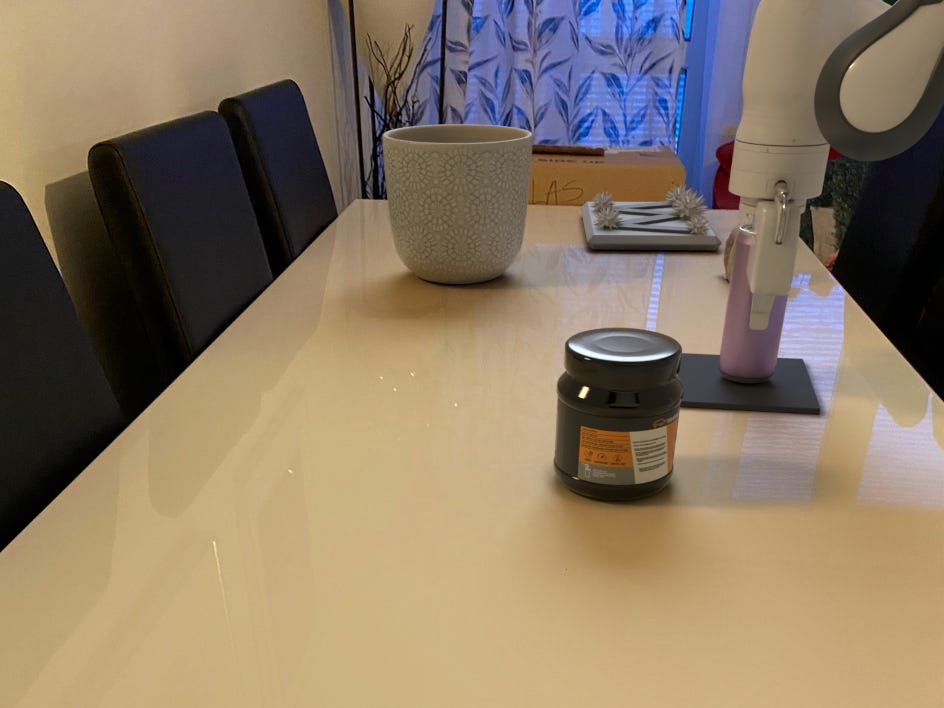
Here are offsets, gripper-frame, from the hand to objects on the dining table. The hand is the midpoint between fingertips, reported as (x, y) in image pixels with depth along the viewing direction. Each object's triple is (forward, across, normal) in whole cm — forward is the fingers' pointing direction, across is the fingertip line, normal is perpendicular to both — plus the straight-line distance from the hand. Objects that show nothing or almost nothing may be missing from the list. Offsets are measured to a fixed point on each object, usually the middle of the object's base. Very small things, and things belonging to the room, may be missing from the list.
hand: (754, 317), depth 103 cm
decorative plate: (+7, +76, +12) cm, 77 cm away
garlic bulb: (+7, +45, -3) cm, 46 cm away
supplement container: (+7, -27, +13) cm, 31 cm away
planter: (+7, +42, +39) cm, 58 cm away
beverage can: (+6, 0, 0) cm, 6 cm away
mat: (+7, 0, 0) cm, 7 cm away
